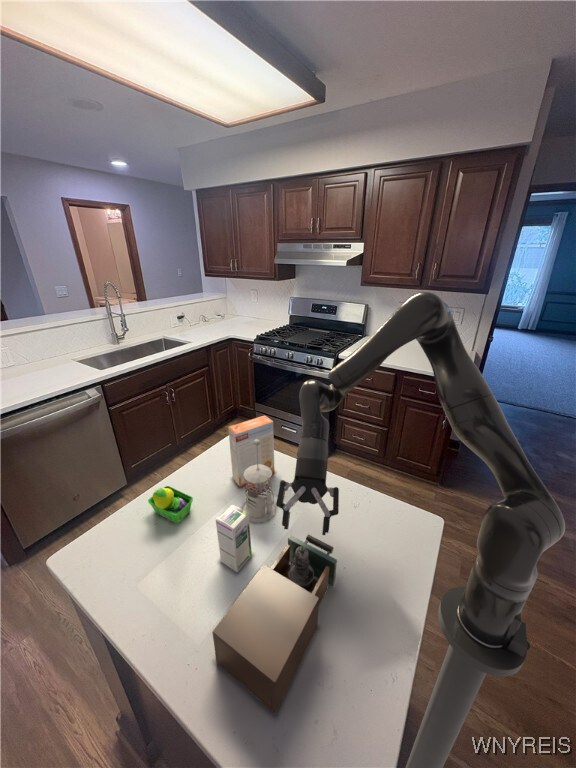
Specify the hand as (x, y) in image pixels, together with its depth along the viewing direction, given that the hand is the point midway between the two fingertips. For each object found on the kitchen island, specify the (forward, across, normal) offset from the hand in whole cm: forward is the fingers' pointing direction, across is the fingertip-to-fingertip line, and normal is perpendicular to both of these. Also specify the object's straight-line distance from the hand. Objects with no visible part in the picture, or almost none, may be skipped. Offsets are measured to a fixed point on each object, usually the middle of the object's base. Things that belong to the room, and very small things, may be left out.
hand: (304, 532), depth 70 cm
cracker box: (-13, +22, -34) cm, 43 cm away
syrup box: (+9, +17, -11) cm, 23 cm away
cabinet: (+21, +5, +1) cm, 22 cm away
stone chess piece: (+11, 0, -6) cm, 13 cm away
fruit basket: (+2, +41, -19) cm, 45 cm away
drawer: (+12, 0, -7) cm, 14 cm away
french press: (-2, +15, -23) cm, 28 cm away
